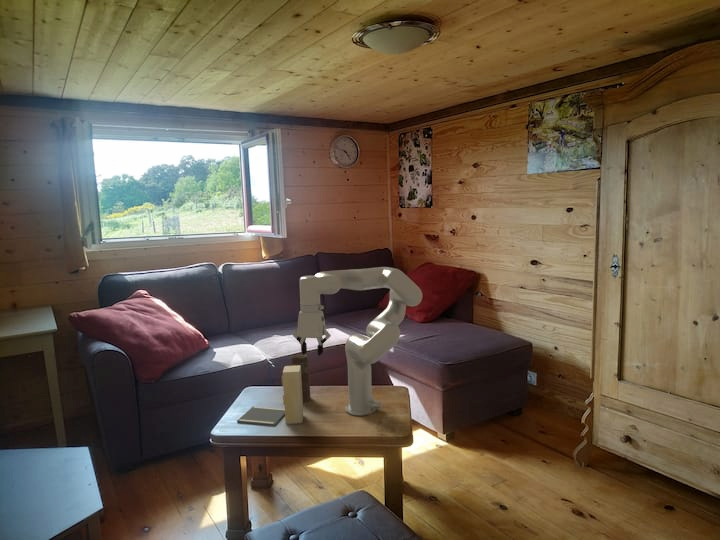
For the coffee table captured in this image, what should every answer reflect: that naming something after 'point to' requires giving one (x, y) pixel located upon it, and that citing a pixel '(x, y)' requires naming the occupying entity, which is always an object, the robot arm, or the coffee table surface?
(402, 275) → the robot arm
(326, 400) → the coffee table surface
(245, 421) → the mat
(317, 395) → the coffee table surface
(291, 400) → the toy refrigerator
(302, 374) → the brown rounded cylinder
